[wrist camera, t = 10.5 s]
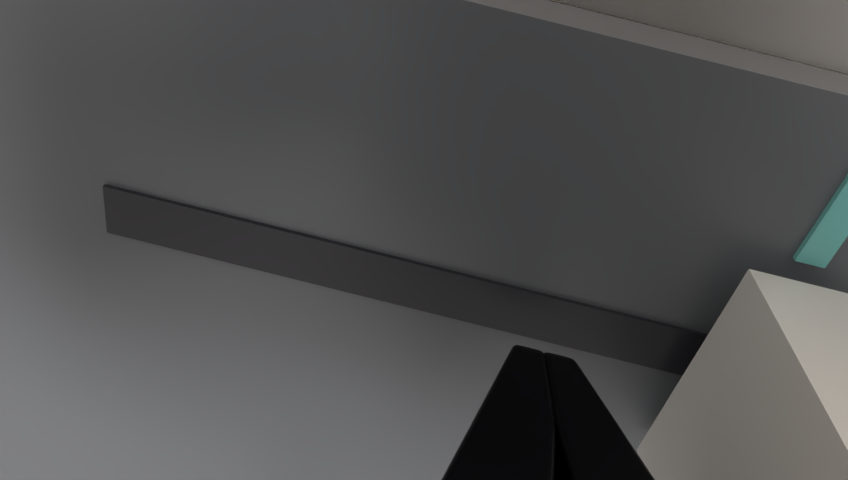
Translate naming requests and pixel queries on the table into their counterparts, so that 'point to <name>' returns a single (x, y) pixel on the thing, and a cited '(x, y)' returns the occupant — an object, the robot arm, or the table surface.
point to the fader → (761, 391)
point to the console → (375, 222)
